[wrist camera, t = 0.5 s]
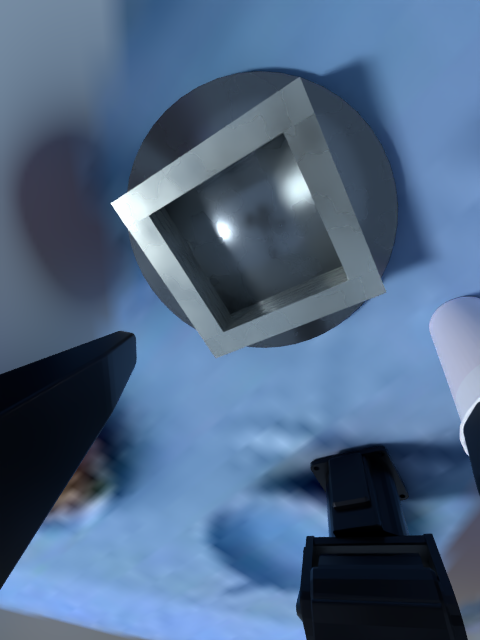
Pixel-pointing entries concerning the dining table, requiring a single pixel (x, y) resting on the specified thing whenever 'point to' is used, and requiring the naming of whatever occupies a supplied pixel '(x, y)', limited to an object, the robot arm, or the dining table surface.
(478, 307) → the smoothie
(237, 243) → the disk with square socket
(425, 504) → the dining table surface
